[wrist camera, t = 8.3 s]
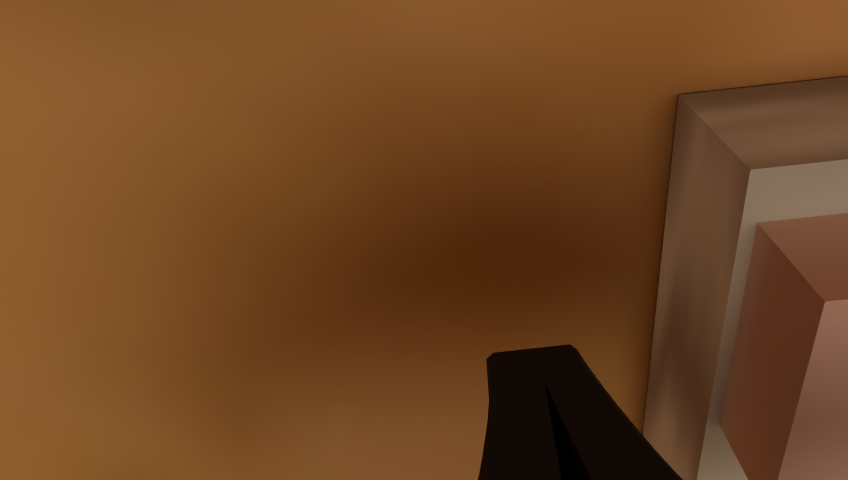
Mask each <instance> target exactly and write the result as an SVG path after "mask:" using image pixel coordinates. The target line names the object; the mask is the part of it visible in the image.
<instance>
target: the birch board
mask: <svg viewBox="0 0 848 480" xmlns="http://www.w3.org/2000/svg"><path fill="white" fill-rule="evenodd" d="M842 213H848V76H846V77H837V78H828V79H819V80H810V81H800V82H791V83H782V84H773V85H764V86H755V87H746V88H736V89H727V90H718V91H709V92H700V93H691V94H681V95H678V104H677V114H676V123H675V133H674V142H673V152H672V161H671V171H670V180H669V190H668V199H667V209H666V218H665V228H664V237H663V247H662V256H661V266H660V276H659V285H658V295H657V304H656V314H655V323H654V333H653V342H652V352H651V361H650V371H649V380H648V390H647V399H646V409H645V418H644V428H643V436H644V437H645V438H646V440H647V441H648V442H649V443H650V444H651V445H652V447H653V448H654V449H655V450H656V451H657V452H658V453H659V454H660V456H661V457H662V458H663V459H664V460H665V461H666V462H667V463H668V464H669V465H670V466H671V467H672V469H673V470H674V471H675V472H676V473H677V474H678V475H679V476H680V477H681V478H682V479H683V480H748V478H747V477H746V475H745V473H744V471H743V469H742V467H741V465H740V463H739V461H738V460H737V458H736V456H735V454H734V452H733V450H732V448H731V446H730V445H729V443H728V441H727V439H726V437H725V435H724V433H723V431H722V429H721V428H720V426H719V424H720V419H721V413H722V408H723V402H724V397H725V392H726V386H727V381H728V376H729V370H730V365H731V360H732V354H733V349H734V344H735V338H736V333H737V328H738V322H739V317H740V312H741V306H742V301H743V295H744V290H745V285H746V279H747V274H748V269H749V263H750V258H751V253H752V247H753V242H754V237H755V231H756V226H757V223H759V222H768V221H777V220H786V219H796V218H805V217H814V216H823V215H832V214H842Z"/></svg>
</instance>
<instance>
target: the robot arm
mask: <svg viewBox="0 0 848 480" xmlns="http://www.w3.org/2000/svg"><path fill="white" fill-rule="evenodd" d="M487 375H488V390H489V410H488V422H487V429H486V436H485V443H484V450H483V457H482V463H481V468H480V473H479V477H478V480H683V479H682V478H681V477H680V476H679V475H678V474H677V473H676V472H675V471H674V470H673V469H672V467H671V466H670V465H669V464H668V463H667V462H666V461H665V460H664V459H663V458H662V457H661V456H660V454H659V453H658V452H657V451H656V450H655V449H654V448H653V447H652V445H651V444H650V443H649V442H648V441H647V440H646V438H645V437H644V436H643V435H642V434H641V433H640V432H639V430H638V429H637V428H636V427H635V426H634V425H633V423H632V422H631V421H630V420H629V419H628V417H627V416H626V415H625V414H624V413H623V411H622V410H621V409H620V408H619V406H618V405H617V404H616V403H615V401H614V400H613V399H612V398H611V396H610V395H609V394H608V392H607V391H606V390H605V389H604V387H603V386H602V385H601V383H600V382H599V381H598V379H597V378H596V377H595V375H594V374H593V372H592V371H591V370H590V368H589V367H588V365H587V364H586V362H585V361H584V360H583V358H582V357H581V355H580V354H579V352H578V350H577V349H576V348H574V347H573V346H572V345H570V344H569V345H560V346H551V347H542V348H533V349H524V350H514V351H505V352H496V353H493V354H492V355H490V356H489V357H488V358H487Z"/></svg>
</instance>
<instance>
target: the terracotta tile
mask: <svg viewBox="0 0 848 480" xmlns="http://www.w3.org/2000/svg"><path fill="white" fill-rule="evenodd" d="M719 426H720V428H721V429H722V431H723V433H724V435H725V437H726V439H727V441H728V443H729V445H730V446H731V448H732V450H733V452H734V454H735V456H736V458H737V460H738V461H739V463H740V465H741V467H742V469H743V471H744V473H745V475H746V477H747V478H748V480H848V213H842V214H832V215H823V216H814V217H805V218H796V219H786V220H777V221H768V222H759V223H757V226H756V231H755V237H754V242H753V247H752V253H751V258H750V263H749V269H748V274H747V279H746V285H745V290H744V295H743V301H742V306H741V312H740V317H739V322H738V328H737V333H736V338H735V344H734V349H733V354H732V360H731V365H730V370H729V376H728V381H727V386H726V392H725V397H724V402H723V408H722V413H721V419H720V424H719Z"/></svg>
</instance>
